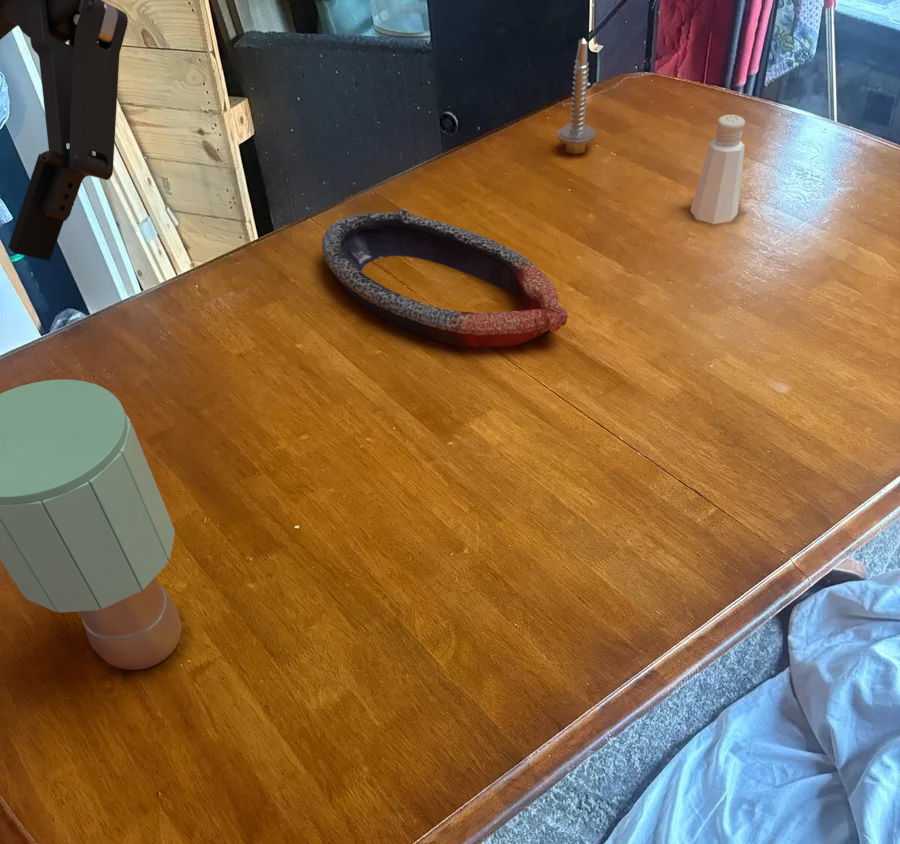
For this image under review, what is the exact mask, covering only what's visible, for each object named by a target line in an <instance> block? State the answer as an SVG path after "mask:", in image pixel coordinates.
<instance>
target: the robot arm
mask: <svg viewBox="0 0 900 844" xmlns="http://www.w3.org/2000/svg"><path fill="white" fill-rule="evenodd" d="M128 18H129V17H128V15H127V13H126V12H124V11H123V10H121V9H119V8H117V7H115V6H113V5H112V4H110V3H108V2H106V1H104V0H0V41H1V40H2V39H3V38H5V36H7V35H9V33H10V32H12V31H13V30H14V29H15V28H16V27H19V29H20V31H21V32H22V33H23V34H24V35H25V36H27V37H28V38H29V41H30V46H31V48H32V50H33V51H34V52H35V53H36V54H37V56H38V60H39V71H40V79H41V88H42V99H43V107H44V108H43V109H44V118H45V126H46V127H45V128H46V136H47V147H48V150H46V151H43V152H41V153H39V154H38V155H37V160H36V161H35V165H34V167H33V171H32V173H31V174H32V175H31V176H30V179H29V182H28V186H27V189H26V191H25V195H24V197H23V201H22V204H21V207H20V210H19V213H18V216H17V219H16V222H15V225H14V228H13V231H12V234H11V236H10V240H9V243H8V245H7V248H8V249H9V250H10V251H11V252H12V253H13V254H17V255H20V256H27V257H30V258H34V259H39V260H43V261H48V262H50V261H51V259H52V256H53V253H54V250H55V248H56V245H57V242H58V239H59V237H60V233H61V231H62V228H63V225H64V222H67V220H68V218H69V217H70V216H71V213H72V210H73V207H74V205H75V201H76V199H77V196H78V194H79V191H80V188H81V186H82V183H83V180H84V179H85V178H86V177H93V178H97V179H101V180H104V181H109V180H110V179H111V178H112V176H113V173H114V160H115V142H116V126H117V125H116V124H117V123H116V121H117V106H118V91H119V90H118V89H119V88H118V87H119V72H120V71H119V69H120V55H121V54H120V53H121V50H122V46H123V43H124V39H125V35H126V31H127V28H128V23H129V19H128ZM67 42H68V43H67ZM68 145H69V146H68ZM94 153H95V155H94Z"/></svg>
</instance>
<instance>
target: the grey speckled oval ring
mask: <svg viewBox="0 0 900 844" xmlns="http://www.w3.org/2000/svg"><path fill="white" fill-rule="evenodd" d="M321 249H322V254H323V258H324V260H325V262H326V264H327V266H328V268H329V269H330V270H331V272H332V273H333V275H334V276H335V278H336V280H337V281H338V282H339V284H340V285H341V286H342V287H343V288H344V290H345V291H346V292H347V293H348V294H349V295H350V296H351V297H352V298H353V299H354V300H355V301H357V303H359V304H360V305H361V306H362V307H364V308H365V309H366V310H367V311H369V312H371V313H372V314H374V315H375V316H377V317H379V318H381V319H383V320H384V321H386V322H388V323H390V324H392V325H394V326H397V327H398V328H401V329H403V330H406V331H408V332H410V333H413V334H415V335H417V336H421V337H423V338H426V339H428V340H432V341H435V342H439V343H442V344H447V345H452V346H457V347H463V348H474V349H477V348H478V349H479V348H480V349H481V348H495V347H499V348H508V347H516V346H519V345H522V344H524V343H527V342H529V341H532V340H534V339H536V338H539V337H541V336H543V335H545V333H547V332H548V331H549V332H550V333H556V332H557V331H559V330H560V328H561V326H565V325H566V324H567V321H568V318H569V316H568V310H567V309H565V308H563V307H562V306H560V305H559V296H558V293H557V289H556V287H555V286H554V284H553V283H552V281H551V280H550V279H549V277H548V276H547V275H546V274H545V273H544V272H543V271H542V270H541V269H540V268H539V267H538V266H537V265H536V264H535V263H533V262H532V261H531V260H529V259H528V258H527V257H525V256H524V255H522V254H520V253H519V252H516V251H515V250H513V249H511V248H510V247H507V246H506V245H504V244H501V243H499V242H497V241H495V240H494V239H493V240H492V239H491V238H488V237H486V236H483V235H481V234H479V233H476V232H474V231H471V230H468V229H465V228H461V227H458V226H455V225H452V224H449V223H446V222H441V221H438V220H435V219H431V218H427V217H423V216H420V215H416V214H412V213H410V212H409V211H408V209H406V208H399V209H398V210H397V211H390V212H386V211H385V212H369V213H368V212H366V213H359V214H353V215H349V216H345V217H343V218H340V219H338V220H336V221H335V222H333V223H332V224H331V225H330V226H329V227H328V228H327V229H326V231H325V233H324V235H323V237H322V239H321ZM387 257H406V258H408V257H409V258H416V259H421V260H425V261H429V262H433V263H436V264H439V265H442V266H445V267H448V268H451V269H455V270H457V271H459V272H462V273H465V274H467V275H470V276H472V277H474V278H477V279H479V280H482V281H484V282H486V283H489V284H491V285H494V286H496V287H499V288H501V289H503V290H505V291H507V292H509V293H511V294H513V295H514V296H515V297H516V298H518V300H520V301H521V302H522V305H523V306H524V310H512V311H490V312H472V311H470V312H469V311H460V310H453V309H447V308H442V307H438V306H434V305H430V304H427V303H424V302H421V301H418V300H415V299H412V298H410V297H407V296H405V295H403V294H400V293H398V292H396V291H394V290H391V289H390V288H387V287H385V286H384V285H382V284H381V283H378V282H377V281H375V280H373V279H372V278H370V277H368V276H367V275H366V274H365V273H363V272H362V270H363V268H364V267H365V266H366V265H368V264H369V263H371V262H373V261H375V260H378V259H382V258H387Z"/></svg>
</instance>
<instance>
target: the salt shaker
mask: <svg viewBox="0 0 900 844" xmlns="http://www.w3.org/2000/svg"><path fill="white" fill-rule="evenodd" d="M745 125H746V119H744V117H742V116H740V115H737V114H726V115H725V114H724V115H722V116H720V117H719V118H718V120H717V129H716V135H715V137H714V139H712V141H711V142H709V144H708V146H707V150H706V154H705V158H704V161H703V165H702V167H701V171H700V175H699V178H698V182H697V185H696V189H695V192H694V196H693V199H692V203H691V206H690V212H691V214H692V215H693V217H694V218H695V219H696V220H698V221H701V222H705V223H707V224H712V225H716V224H723V223H730V222H732V220H733V219H734V218H736V216H738V213H739V205H740V196H741V195H740V194H741V187H742V186H741V185H742V178H743V177H742V176H743V167H744V158H745V144H744V143H743V141H742V139H741V138H742V135H743V132H744V127H745Z"/></svg>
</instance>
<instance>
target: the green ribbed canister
mask: <svg viewBox="0 0 900 844" xmlns="http://www.w3.org/2000/svg"><path fill="white" fill-rule="evenodd" d="M141 445H142V444H141V443H140V441H139V438H138V436H137V433H136V431H135V428H134V426H133V423H132V421H131V419H130V417H129V416H128V415H127V413H126V412H125V409H124V407H123V405H122V403H121V401H120V400H119V398H118V397H117V396H115V394H114V393H112V392H111V391H110V390H109V389H106V388H104V387H103V386H100V385H98V384H96V383H92V382H89V381H86V380H85V381H84V380H78V379H49V380H41V381H36V382H31V383H28V384H23V385H20V386H17V387H14V388H11V389H8V390H6V391H3V392H1V393H0V562H1V564H2V565H3V567H4V568H5V569H6V571H7V573H8V575H9V576H10V577H11V579H12V581H13V582H14V584H15V585H16V587H17V589H18V590H19V591H20V593H21V594H22V596H23V597H24V598H25V599H26V600H28V601H30V602H32V603H34V604H37V605H39V606H41V607H43V608H46V609H48V610H50V611H52V612H55V613H74V612H75V613H76V612H80V611H92V610H100V607H101V609H104V608H106V607H108V606H111V605H113V604H115V603H117V602H119V601H121V600H123V599H126V598H128V597H130V596H132V595H134V594H136V593H139V592H141V589H142V590H144V588H145V587H146V586H147V585H148V584H149V583H150V582H151V581H152V580H153V579H154V578H156V577H157V576H158V575H159V574H160V573H161V571H162V570H163V569H164V568H165V567H166V566H167V565H168V564H169V561H170V560H171V555H172V549H173V544H174V540H175V535H176V530H175V527H174V525H173V522H172V520H171V517H170V515H169V512H168V510H167V507H166V504H165V502H164V500H163V497H162V495H161V492H160V490H159V487H158V484H157V483H156V480H155V477H154V475H153V472H152V470H151V468H150V465H149V463H148V460H147V458H146V456H145V453H144V450H143V448H142V446H141Z"/></svg>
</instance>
